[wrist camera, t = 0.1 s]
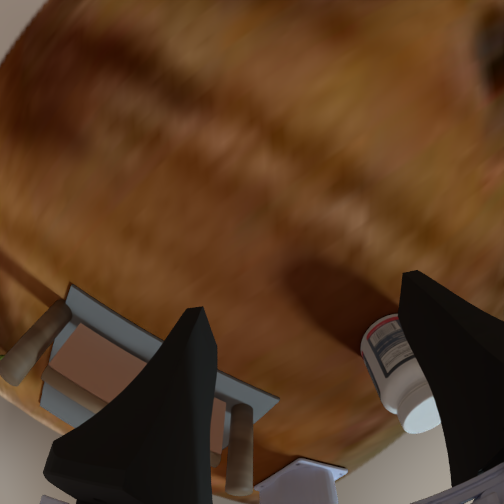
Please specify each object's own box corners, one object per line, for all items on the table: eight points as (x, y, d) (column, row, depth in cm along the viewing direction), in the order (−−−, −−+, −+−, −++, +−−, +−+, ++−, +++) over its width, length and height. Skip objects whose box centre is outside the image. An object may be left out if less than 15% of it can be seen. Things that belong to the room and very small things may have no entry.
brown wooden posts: (245, 417, 27) (243, 498, 19) (53, 311, 23) (-3, 373, 15) (257, 406, 26) (258, 489, 18) (57, 295, 23) (-3, 357, 14)
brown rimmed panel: (226, 402, 25) (220, 464, 19) (219, 409, 26) (212, 469, 19) (80, 322, 23) (42, 372, 17) (77, 332, 23) (40, 382, 17)
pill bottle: (404, 362, 25) (442, 434, 17) (352, 363, 25) (381, 445, 16) (424, 312, 23) (477, 381, 15) (369, 310, 23) (413, 389, 15)
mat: (184, 477, 32) (184, 479, 32) (40, 403, 28) (39, 405, 28) (279, 397, 26) (279, 400, 26) (72, 284, 22) (71, 285, 22)
